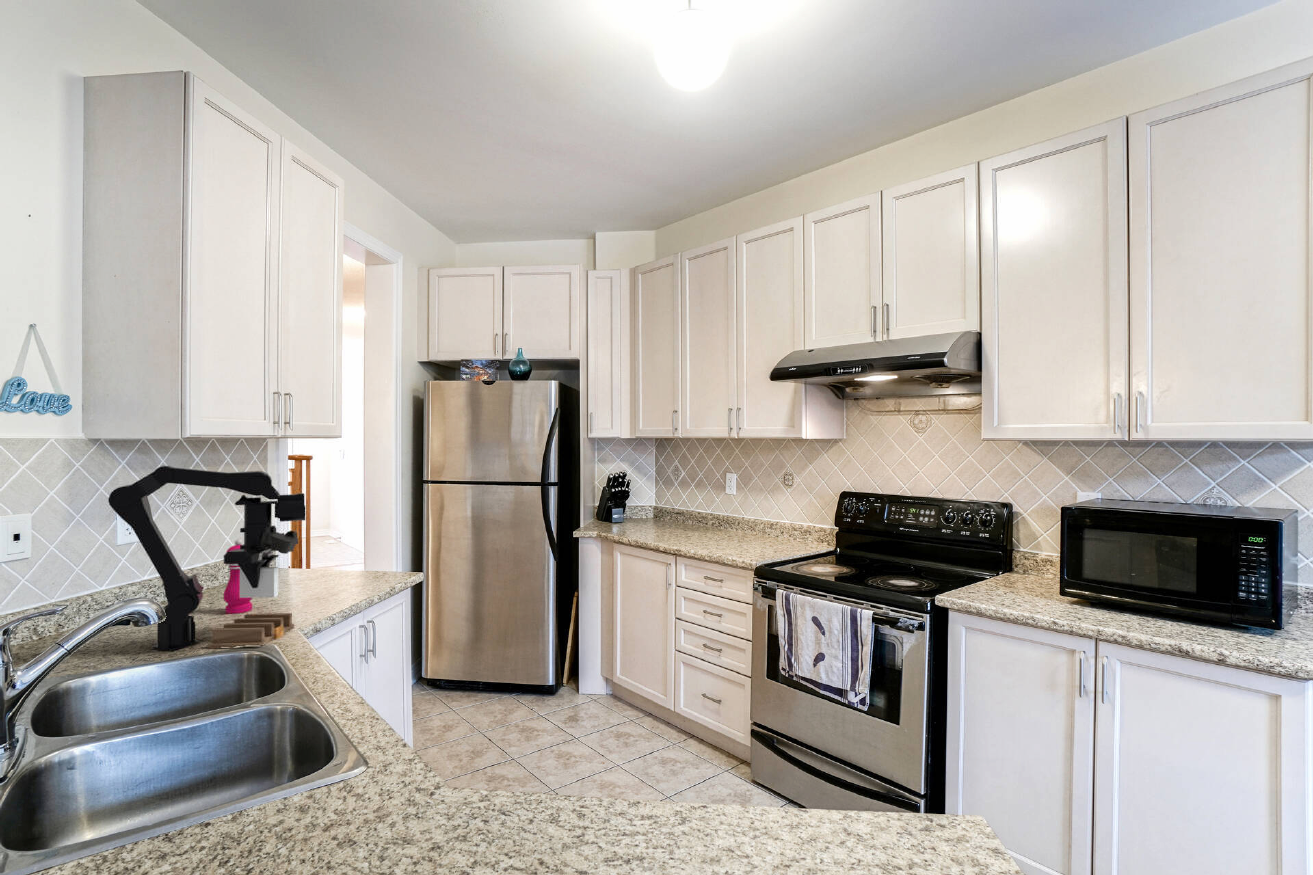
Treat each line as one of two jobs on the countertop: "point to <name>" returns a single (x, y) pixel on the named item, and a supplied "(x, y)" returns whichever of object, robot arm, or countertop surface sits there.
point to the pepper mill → (235, 588)
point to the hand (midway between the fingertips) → (257, 586)
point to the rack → (252, 630)
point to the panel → (260, 584)
